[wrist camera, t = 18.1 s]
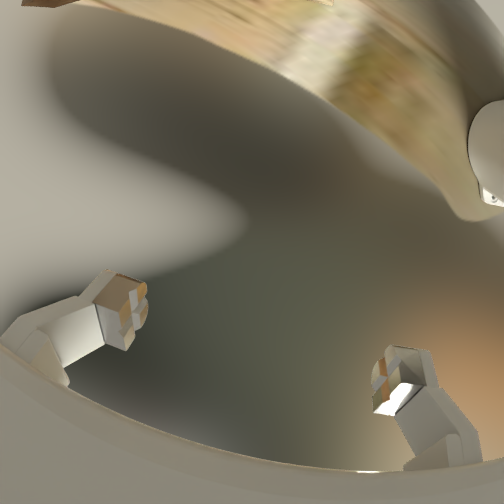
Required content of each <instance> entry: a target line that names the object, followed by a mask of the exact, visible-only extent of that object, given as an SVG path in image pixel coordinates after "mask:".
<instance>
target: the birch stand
mask: <svg viewBox="0 0 504 504" xmlns="http://www.w3.org/2000/svg"><path fill="white" fill-rule="evenodd" d="M308 1H313V2H318V3H322V4H327V5H331V6H333V2H334V0H308Z"/></svg>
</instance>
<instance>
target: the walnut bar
mask: <svg viewBox="0 0 504 504" xmlns="http://www.w3.org/2000/svg"><path fill="white" fill-rule="evenodd" d="M75 1H79V0H23V1H22V5H21V6H36V7H37V6H38V7H50V8H55V7H58V6H62V5H65V4H68V3H72V2H75Z"/></svg>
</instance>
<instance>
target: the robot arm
mask: <svg viewBox="0 0 504 504" xmlns="http://www.w3.org/2000/svg"><path fill="white" fill-rule="evenodd" d="M468 153H469V159H470V163H471V166H472V169H473V171H474V173H475V175H476V177H477V179H478V182H479V188H480V196H481V199H482V200H483V201H484V202H486V203H488V204H493V205H497V206H502V207H504V100H501V101H494V102H491V103H489V104H487V105H485V106H484V107H483V108H482V109H481V110H480V111H479V112H478V113H477V115H476V116H475V118H474V120H473V122H472V125H471V128H470V132H469V138H468ZM492 196H494V197H493V198H492ZM146 293H147V286H146V283H144V282H142V281H139V280H136V279H133V278H131V277H128V276H125V275H122V274H119V273H116V272H113V271H111V270H108V269H106V270H103V271H102V272H101V273H100V274H99V276H98V277H97V278H96V279H95V280H94V281H93V282H92V283H91V284H90V285H89V286H88V287H87V288H86V289H85V291H84V292H83V293H82V294H81V295H80V296H79V297H76V296H74V297H71V298H68V299H65V300H62V301H60V302H57V303H54V304H51V305H49V306H46V307H43V308H41V309H38V310H35V311H32V312H30V313H27V314H24V315H22V316H19V317H18V318H17V319H16V320H15V321H14V323H13V324H12V325H11V326H10V327H9V328H8V329H7V330H6V332H5V333H4V334H3V335H2V336H1V337H0V504H504V457H503V458H499V459H495V460H490V461H485V462H483V459H482V453H481V448H480V441H479V436H478V431H477V430H476V429H475V428H474V426H473V425H472V424H471V422H470V421H469V420H468V419H467V418H466V416H465V415H464V414H463V412H462V411H461V410H460V409H459V407H458V406H457V405H456V404H455V403H454V401H453V400H452V399H451V398H450V396H449V395H448V394H447V393H446V392H445V390H444V389H443V388H439V384H438V380H437V376H436V372H435V368H434V364H433V360H432V357H431V353H430V352H429V351H428V350H422V349H414V348H408V347H403V346H397V345H390V346H389V347H388V348H387V349H386V350H385V357H384V358H382V359H380V360H378V362H377V363H376V364H375V366H374V368H373V371H372V376H371V385H372V387H373V389H374V390H375V391H376V392H375V393H374V395H373V396H372V402H373V413H379V414H388V415H394V418H395V420H396V421H397V423H398V425H399V427H400V429H401V430H402V432H403V434H404V436H405V438H406V439H407V441H408V443H409V445H410V447H411V449H412V450H413V452H414V454H415V456H416V457H414V458H413V459H411V460H409V461H408V462H406V463H405V464H404V466H403V467H404V468H403V469H404V471H353V470H337V469H325V468H315V467H307V466H299V465H293V464H286V463H280V462H274V461H269V460H264V459H258V458H253V457H249V456H245V455H240V454H236V453H232V452H228V451H224V450H220V449H217V448H212V447H209V446H206V445H202V444H199V443H196V442H193V441H189V440H186V439H183V438H180V437H177V436H174V435H171V434H169V433H166V432H163V431H160V430H158V429H155V428H152V427H150V426H147V425H145V424H142V423H140V422H137V421H135V420H133V419H130V418H128V417H125V416H123V415H121V414H119V413H117V412H115V411H112V410H110V409H108V408H106V407H104V406H102V405H100V404H98V403H95V402H94V401H91V400H90V399H88V398H86V397H84V396H82V395H80V394H78V393H77V392H75V391H73V390H71V389H69V388H68V387H67V386H68V384H69V378H68V376H67V374H66V372H65V371H64V369H63V368H64V367H66V366H67V365H69V364H71V363H73V362H74V361H76V360H78V359H79V358H81V357H83V356H85V355H87V354H88V353H90V352H92V351H94V350H95V349H97V348H99V347H100V346H102V345H104V344H105V343H107V344H109V345H112V346H114V347H117V348H119V349H122V350H125V351H127V349H128V348H129V346H130V344H131V343H132V341H133V340H134V338H135V333H134V331H135V330H137V329H139V328H141V327H142V325H143V324H144V322H145V319H146V316H147V313H148V302H147V300H146V299H145V297H144V296H145V294H146Z"/></svg>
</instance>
